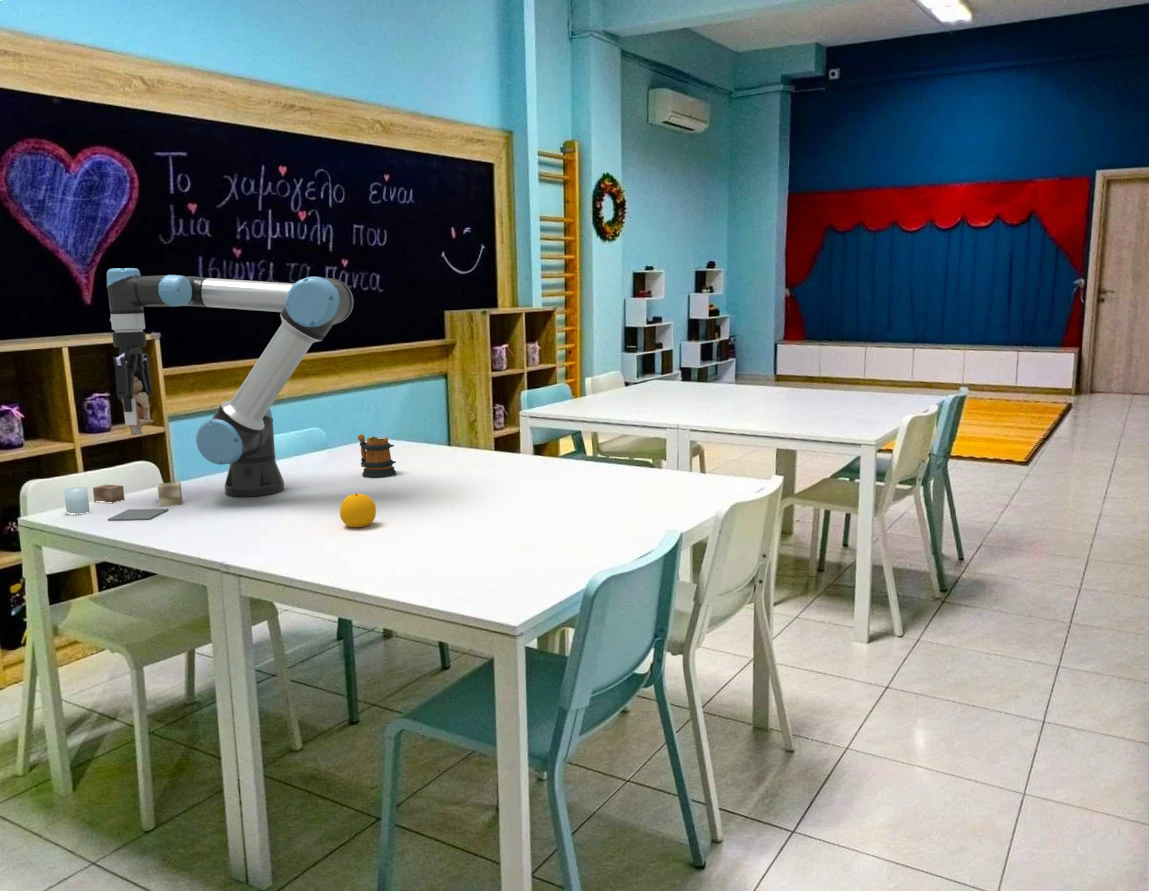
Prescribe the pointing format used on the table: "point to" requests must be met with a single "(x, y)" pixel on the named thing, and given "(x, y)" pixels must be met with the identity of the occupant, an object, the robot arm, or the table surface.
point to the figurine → (140, 407)
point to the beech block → (170, 494)
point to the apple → (357, 510)
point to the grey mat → (137, 514)
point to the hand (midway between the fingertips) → (138, 422)
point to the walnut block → (108, 493)
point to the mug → (376, 457)
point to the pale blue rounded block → (77, 500)
